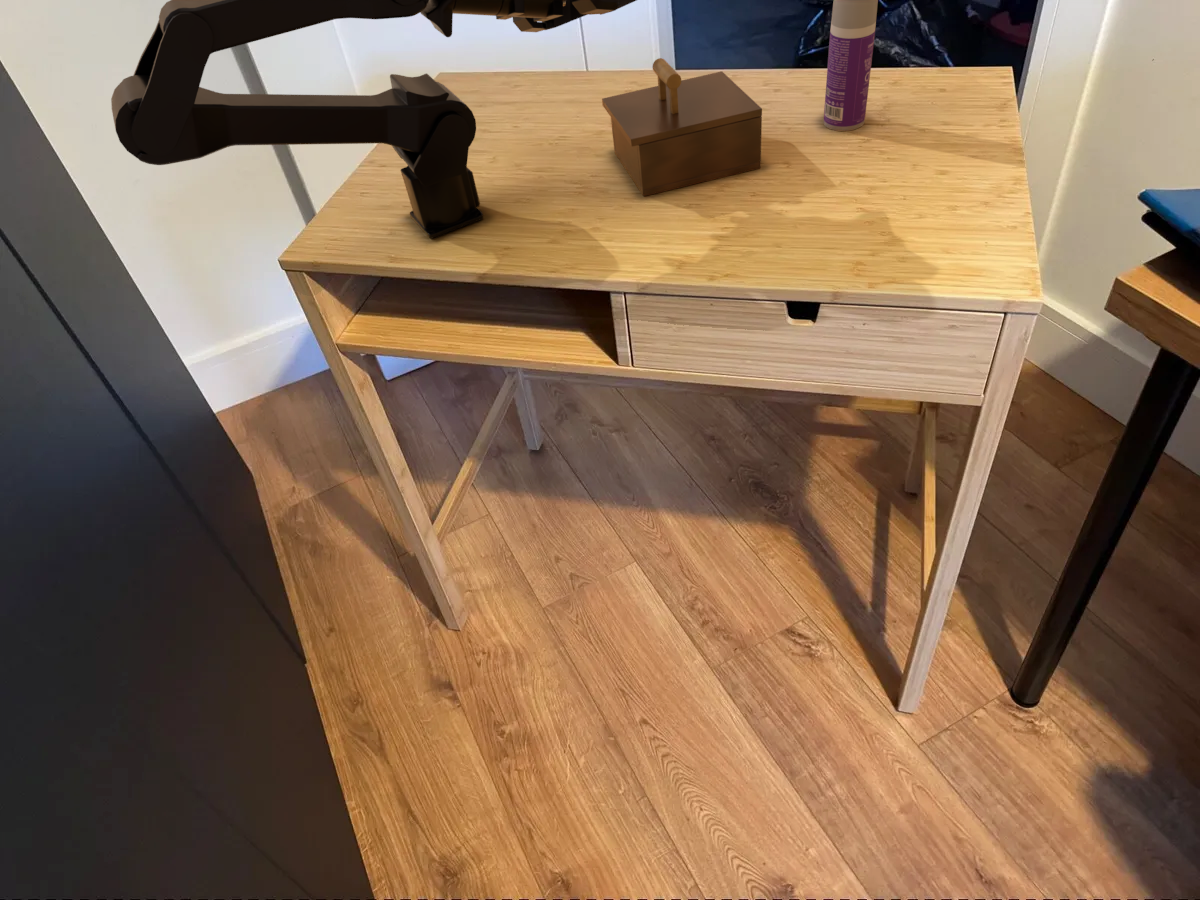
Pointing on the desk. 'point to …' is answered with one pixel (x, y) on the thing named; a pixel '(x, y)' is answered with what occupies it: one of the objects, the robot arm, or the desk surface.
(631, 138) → the box door
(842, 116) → the container
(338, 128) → the robot arm
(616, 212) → the desk surface
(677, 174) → the compartment
